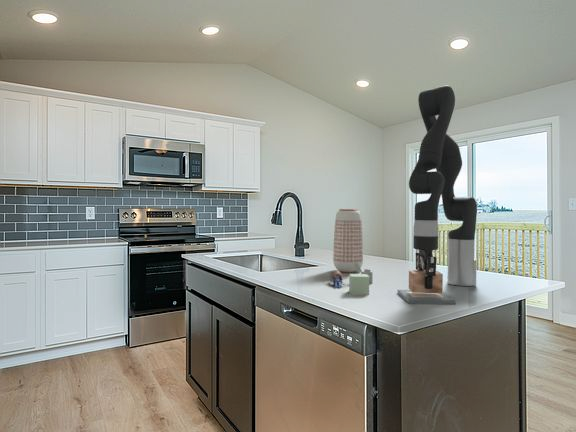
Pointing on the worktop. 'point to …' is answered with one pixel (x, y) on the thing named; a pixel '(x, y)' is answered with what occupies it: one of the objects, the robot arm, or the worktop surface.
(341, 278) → the figurine
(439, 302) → the baseplate
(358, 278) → the top block
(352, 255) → the patterned vase
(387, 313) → the worktop surface
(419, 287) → the base block
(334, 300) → the worktop surface
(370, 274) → the lighter
